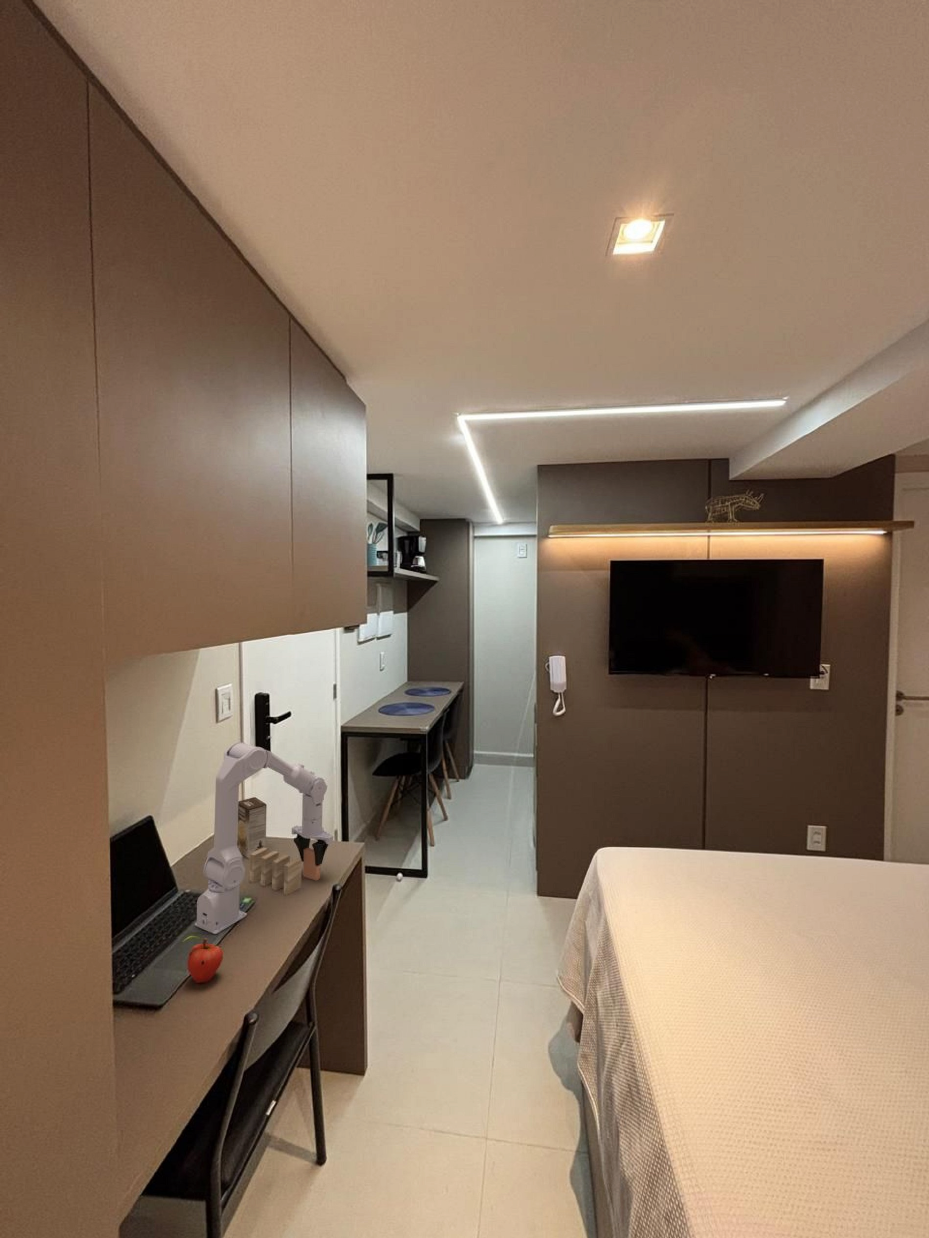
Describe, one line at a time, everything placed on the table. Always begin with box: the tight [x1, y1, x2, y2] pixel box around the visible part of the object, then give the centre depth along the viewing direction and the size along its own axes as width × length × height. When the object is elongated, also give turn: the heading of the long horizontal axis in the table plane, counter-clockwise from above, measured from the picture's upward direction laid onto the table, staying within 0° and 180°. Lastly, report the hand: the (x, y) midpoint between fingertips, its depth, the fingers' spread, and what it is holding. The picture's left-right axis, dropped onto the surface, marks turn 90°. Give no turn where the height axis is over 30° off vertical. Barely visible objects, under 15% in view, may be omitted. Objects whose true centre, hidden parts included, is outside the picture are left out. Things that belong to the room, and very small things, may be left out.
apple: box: [181, 935, 224, 984], centre depth 114 cm, size 8×7×10 cm
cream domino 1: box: [249, 847, 269, 883], centre depth 157 cm, size 2×5×8 cm, turn 152°
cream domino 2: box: [260, 850, 280, 887], centre depth 155 cm, size 2×5×8 cm, turn 152°
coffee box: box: [237, 796, 268, 859], centre depth 175 cm, size 9×6×16 cm
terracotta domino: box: [302, 847, 321, 881], centre depth 159 cm, size 2×5×8 cm, turn 62°
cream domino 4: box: [283, 857, 302, 896], centre depth 151 cm, size 2×5×8 cm, turn 152°
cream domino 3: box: [271, 854, 291, 892], centre depth 153 cm, size 2×5×8 cm, turn 152°
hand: (311, 862), depth 159 cm, fingers closed on terracotta domino, 5 cm apart
